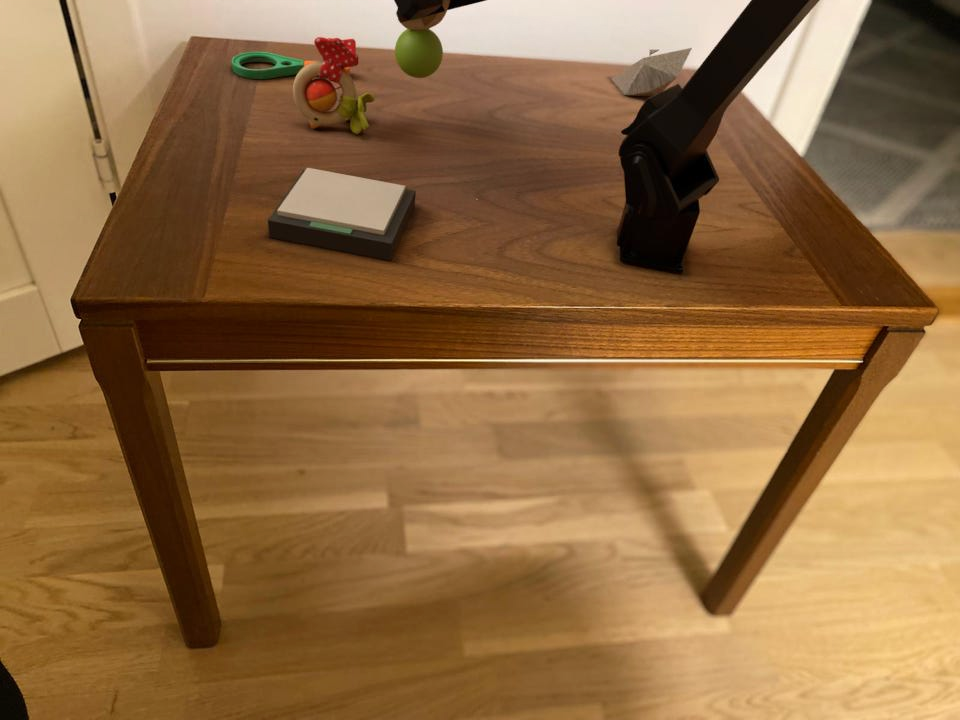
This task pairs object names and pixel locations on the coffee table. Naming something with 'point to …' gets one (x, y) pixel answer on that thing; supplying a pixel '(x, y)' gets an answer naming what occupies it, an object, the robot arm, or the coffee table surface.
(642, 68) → the paper boat
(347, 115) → the bird rattle
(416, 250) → the coffee table surface
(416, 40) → the snail figurine
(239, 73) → the magnifying glass
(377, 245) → the scale
